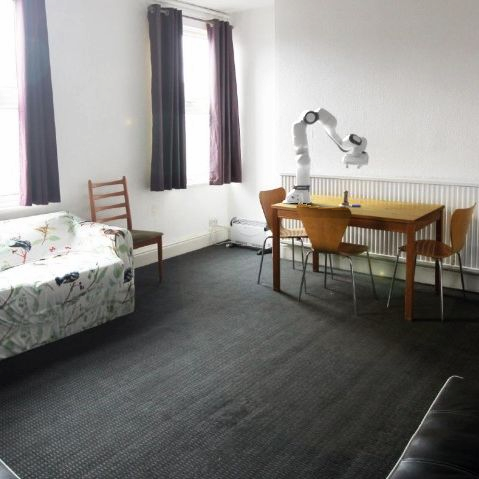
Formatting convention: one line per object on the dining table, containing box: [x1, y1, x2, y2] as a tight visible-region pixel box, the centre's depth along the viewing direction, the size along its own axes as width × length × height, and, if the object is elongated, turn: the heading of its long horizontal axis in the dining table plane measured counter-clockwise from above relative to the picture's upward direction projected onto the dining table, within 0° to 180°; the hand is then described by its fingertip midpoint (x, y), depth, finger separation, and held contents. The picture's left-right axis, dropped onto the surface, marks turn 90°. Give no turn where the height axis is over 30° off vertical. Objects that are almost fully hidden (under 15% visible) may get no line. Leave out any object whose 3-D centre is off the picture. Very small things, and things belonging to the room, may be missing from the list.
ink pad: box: [351, 203, 361, 208], centre depth 433 cm, size 6×8×1 cm
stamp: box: [341, 189, 350, 207], centre depth 435 cm, size 4×4×11 cm
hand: (352, 168), depth 442 cm, fingers open, 8 cm apart
